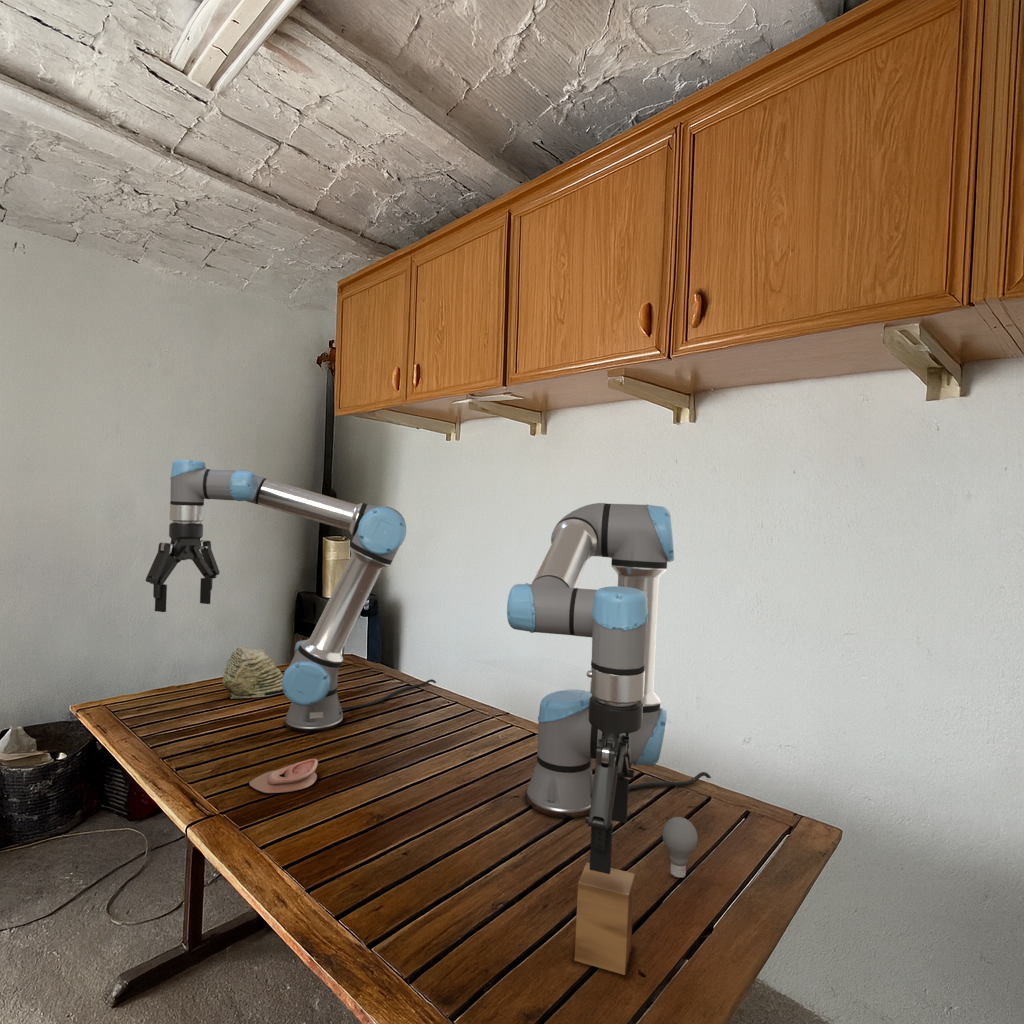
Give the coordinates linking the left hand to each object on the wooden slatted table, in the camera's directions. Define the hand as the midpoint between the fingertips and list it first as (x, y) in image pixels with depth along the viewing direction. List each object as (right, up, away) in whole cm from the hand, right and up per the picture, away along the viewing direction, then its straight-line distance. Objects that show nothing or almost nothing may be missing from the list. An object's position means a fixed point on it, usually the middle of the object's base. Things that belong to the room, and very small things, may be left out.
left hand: (183, 607), depth 158 cm
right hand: (+96, -24, -67) cm, 119 cm away
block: (+95, -40, -67) cm, 123 cm away
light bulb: (+111, -40, -47) cm, 127 cm away
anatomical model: (+32, -36, -18) cm, 51 cm away
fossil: (+1, -33, +40) cm, 52 cm away
